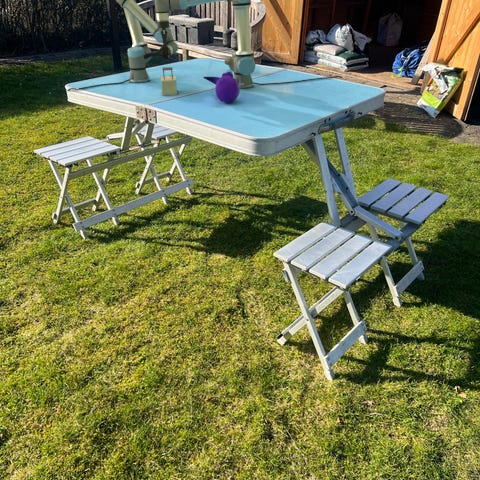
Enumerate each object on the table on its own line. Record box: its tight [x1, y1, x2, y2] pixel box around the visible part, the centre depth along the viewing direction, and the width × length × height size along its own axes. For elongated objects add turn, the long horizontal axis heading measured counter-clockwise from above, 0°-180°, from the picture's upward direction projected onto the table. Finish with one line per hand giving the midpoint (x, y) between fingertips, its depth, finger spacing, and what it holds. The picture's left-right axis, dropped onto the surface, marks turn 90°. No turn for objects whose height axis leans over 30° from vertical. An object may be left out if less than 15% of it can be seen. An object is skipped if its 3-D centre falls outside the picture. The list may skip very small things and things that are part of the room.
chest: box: [160, 80, 178, 97], centre depth 300 cm, size 13×10×9 cm
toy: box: [203, 71, 241, 104], centre depth 277 cm, size 16×18×27 cm
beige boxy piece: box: [160, 66, 177, 82], centre depth 295 cm, size 14×10×8 cm
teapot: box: [223, 50, 237, 72], centre depth 368 cm, size 21×12×15 cm, turn 120°
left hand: (152, 57), depth 313 cm, fingers open, 13 cm apart
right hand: (166, 57), depth 287 cm, fingers open, 13 cm apart
